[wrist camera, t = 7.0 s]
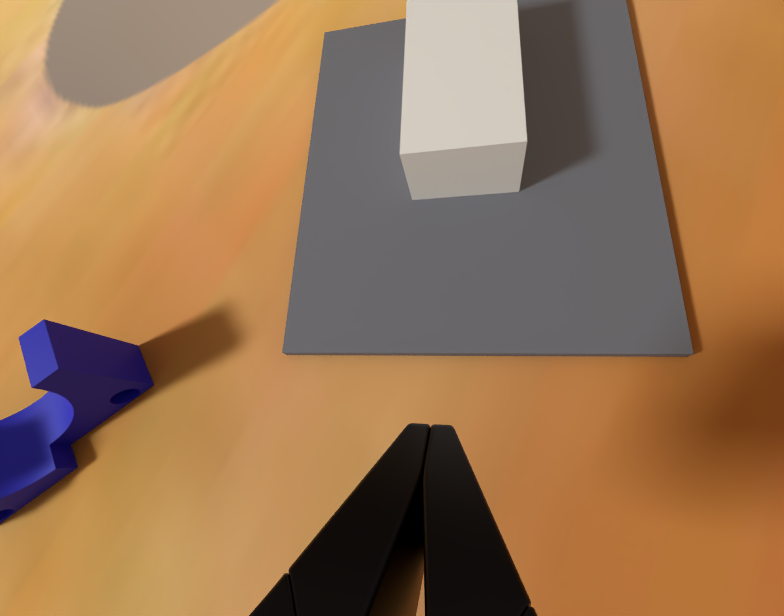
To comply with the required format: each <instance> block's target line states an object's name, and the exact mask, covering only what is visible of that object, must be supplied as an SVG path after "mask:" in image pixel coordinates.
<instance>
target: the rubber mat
mask: <svg viewBox="0 0 784 616" xmlns="http://www.w3.org/2000/svg"><path fill="white" fill-rule="evenodd" d="M517 6H518V20H519V34H520V48H521V62H522V76H523V89H524V103H525V117H526V131H527V146H526V152H525V158H524V165H523V171H522V177H521V183H520V190H519V192H509V193H496V194H484V195H471V196H458V197H445V198H432V199H419V200H412V197H411V194H410V190H409V187H408V183H407V179H406V176H405V172H404V169H403V165H402V161H401V158H400V134H401V114H402V93H403V72H404V51H405V30H406V18H405V19H400V20H394V21H388V22H382V23H377V24H371V25H365V26H360V27H354V28H348V29H342V30H337V31H331V32H325V35H324V43H323V50H322V58H321V65H320V73H319V80H318V88H317V95H316V103H315V110H314V118H313V125H312V133H311V140H310V148H309V156H308V163H307V171H306V178H305V186H304V193H303V201H302V208H301V216H300V223H299V231H298V238H297V246H296V253H295V261H294V269H293V276H292V284H291V291H290V299H289V306H288V314H287V321H286V329H285V336H284V344H283V351H282V353H284V354H286V355H431V356H654V357H688V356H690V355H692V354H694V353H693V348H692V343H691V337H690V332H689V327H688V322H687V316H686V311H685V306H684V301H683V295H682V290H681V285H680V280H679V274H678V269H677V264H676V259H675V254H674V248H673V243H672V238H671V233H670V227H669V222H668V217H667V212H666V206H665V201H664V196H663V191H662V185H661V180H660V175H659V170H658V165H657V159H656V154H655V149H654V144H653V138H652V133H651V128H650V123H649V117H648V112H647V107H646V102H645V97H644V91H643V86H642V81H641V76H640V70H639V65H638V60H637V55H636V49H635V44H634V39H633V34H632V28H631V23H630V18H629V13H628V8H627V2H626V0H517Z"/></svg>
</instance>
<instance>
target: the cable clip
mask: <svg viewBox="0 0 784 616" xmlns="http://www.w3.org/2000/svg"><path fill="white" fill-rule="evenodd" d="M19 341H20V345H21V349H22V353H23V356H24V360H25V364H26V368H27V372H28V376H29V379H30V383H31V387H32V388H36V389H42V390H46V391H48V392H47V393H46V394H45V395H44V396H43V397H42V398H40V399H39V400H38V401H36V402H35V403H33V404H32V405H30V406H28V407H27V408H25V409H23V410H21V411H20V412H18V413H16V414H13V415H11V416H9V417H7V418H5V419H2V420H0V523H1V522H3V521H4V520H5V519H7V518H8V517H10V516H11V515H12V514H14V513H15V512H17V511H18V510H19V509H21V508H22V507H23V506H25V505H26V504H28V503H29V502H30V501H32V500H33V499H35V498H36V497H37V496H39V495H40V494H41V493H43V492H44V491H46V490H47V489H48V488H50V487H51V486H53V485H54V484H55V483H57V482H58V481H59V480H61V479H62V478H64V477H65V476H66V475H68V474H69V473H71V472H72V471H73V470H75V469H76V468H77V467H78V466H77V463H76V459H75V456H74V453H73V449H72V446H71V445H72V444H73V443H74V442H76V441H77V440H78V439H80V438H81V437H83V436H84V435H85V434H87V433H88V432H90V431H91V430H92V429H94V428H95V427H96V426H98V425H99V424H101V423H102V422H103V421H105V420H106V419H108V418H109V417H110V416H112V415H113V414H115V413H116V412H117V411H119V410H120V409H121V408H123V407H124V406H126V405H127V404H128V403H130V402H131V401H133V400H134V399H135V398H137V397H138V396H140V395H141V394H142V393H144V392H145V391H146V390H148V389H149V388H151V387H152V386H153V385H154V384H153V381H152V379H151V376H150V374H149V371H148V369H147V366H146V364H145V361H144V359H143V356H142V354H141V351H140V349H139V346H138V345H134V344H130V343H127V342H123V341H120V340H116V339H112V338H109V337H105V336H102V335H98V334H94V333H91V332H87V331H84V330H80V329H77V328H73V327H69V326H66V325H62V324H59V323H55V322H51V321H48V320H42V321H41V322H40V323H38V324H37V325H35V326H34V327H33V328H31V329H30V330H28V331H27V332H25V333H24V334H23V335H21V336H20V337H19Z"/></svg>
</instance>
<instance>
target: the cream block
mask: <svg viewBox="0 0 784 616" xmlns="http://www.w3.org/2000/svg"><path fill="white" fill-rule="evenodd" d="M526 146H527V131H526V117H525V103H524V89H523V76H522V62H521V48H520V34H519V20H518V6H517V0H407V9H406V30H405V51H404V72H403V93H402V114H401V134H400V158H401V161H402V165H403V169H404V172H405V176H406V179H407V183H408V187H409V190H410V194H411V197H412V200H419V199H432V198H445V197H458V196H471V195H484V194H496V193H509V192H519V190H520V183H521V177H522V171H523V165H524V158H525V152H526Z"/></svg>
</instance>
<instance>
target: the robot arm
mask: <svg viewBox="0 0 784 616" xmlns="http://www.w3.org/2000/svg"><path fill="white" fill-rule="evenodd" d="M423 573H424V590H425V616H537V614H536V612H535V609H534V608H533V607H531V601H530V599H529V596H528V594H527V592H526V590H525V587H524V585H523V583H522V581H521V578H520V576H519V574H518V572H517V569H516V567H515V565H514V563H513V560H512V558H511V556H510V553H509V551H508V549H507V547H506V544H505V542H504V540H503V538H502V535H501V533H500V531H499V529H498V526H497V524H496V522H495V520H494V517H493V515H492V513H491V511H490V508H489V506H488V504H487V502H486V499H485V497H484V495H483V492H482V490H481V488H480V486H479V483H478V481H477V479H476V477H475V474H474V472H473V470H472V468H471V465H470V463H469V461H468V459H467V456H466V454H465V452H464V450H463V447H462V445H461V443H460V441H459V438H458V436H457V434H456V431H455V429H454V428H453V427H452V426H451V425H436V424H435V425H432V426H431V427H430V426H429V425H428V424H417V423H411V424H408V425H407V426H406V428H405V429H404V430H403V431H402V432H401V434H400V435H399V436H398V437H397V438H396V440H395V441H394V442H393V443H392V445H391V446H390V447H389V448H388V449H387V451H386V452H385V453H384V454H383V455H382V457H381V458H380V459H379V460H378V461H377V463H376V464H375V465H374V466H373V468H372V469H371V470H370V471H369V472H368V474H367V475H366V476H365V477H364V478H363V480H362V481H361V482H360V483H359V485H358V486H357V487H356V488H355V489H354V491H353V492H352V493H351V494H350V495H349V497H348V498H347V499H346V500H345V501H344V503H343V504H342V505H341V506H340V508H339V509H338V510H337V511H336V512H335V514H334V515H333V516H332V517H331V518H330V520H329V521H328V522H327V523H326V524H325V526H324V527H323V528H322V529H321V531H320V532H319V533H318V534H317V535H316V537H315V538H314V539H313V540H312V541H311V543H310V544H309V545H308V546H307V548H306V549H305V550H304V551H303V552H302V554H301V555H300V556H299V557H298V558H297V560H296V561H295V562H294V563H293V564H292V566H291V567H290V568H289V574H288V573H285V574H284V575H283V576H282V577H281V579H280V580H279V581H278V582H277V583H276V585H275V586H274V587H273V588H272V590H271V591H270V592H269V593H268V594H267V596H266V597H265V598H264V599H263V600H262V601H261V603H260V604H259V605H258V606H257V607H256V608H255V610H254V611H253V612H252V613H251V614H250V615H249V616H416V612H417V606H418V601H419V595H420V590H421V584H422V578H423Z"/></svg>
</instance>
